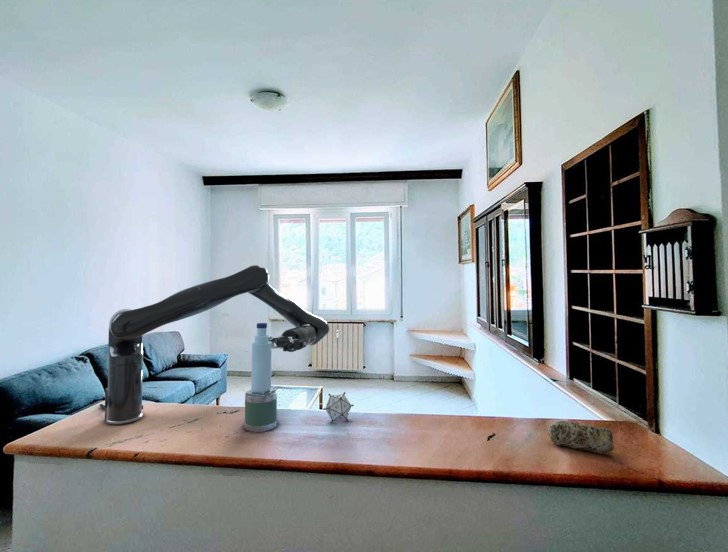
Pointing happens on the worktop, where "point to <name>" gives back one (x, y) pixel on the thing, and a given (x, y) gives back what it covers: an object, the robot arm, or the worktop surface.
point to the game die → (338, 407)
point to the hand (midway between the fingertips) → (271, 347)
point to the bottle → (261, 361)
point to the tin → (260, 410)
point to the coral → (581, 436)
